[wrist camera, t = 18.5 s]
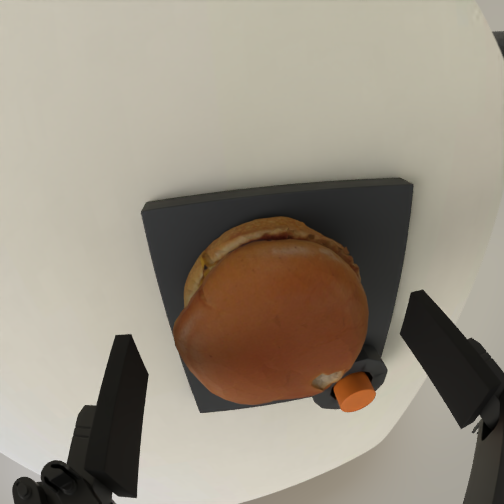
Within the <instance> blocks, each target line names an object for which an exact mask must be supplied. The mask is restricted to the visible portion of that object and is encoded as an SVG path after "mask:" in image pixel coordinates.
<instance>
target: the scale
mask: <svg viewBox="0 0 504 504" xmlns="http://www.w3.org/2000/svg"><path fill="white" fill-rule="evenodd" d="M412 196H413V184H411V183H410V182H408V181H406V180H404V179H402V178H383V179H362V180H344V181H329V182H315V183H302V184H291V185H280V186H269V187H259V188H250V189H241V190H232V191H224V192H216V193H208V194H200V195H193V196H186V197H179V198H172V199H165V200H158V201H152V202H147V203H146V204H145V206H144V207H143V209H142V211H141V215H142V219H143V224H144V228H145V233H146V237H147V242H148V246H149V250H150V254H151V258H152V262H153V266H154V270H155V274H156V278H157V282H158V285H159V289H160V293H161V296H162V300H163V303H164V307H165V310H166V314H167V317H168V320H169V324H170V327H171V330H172V334H173V327H174V322H175V321H176V319H177V318H178V316H179V315H180V313H181V312H182V310H183V309H184V287H185V283H186V280H187V277H188V275H189V272H190V271H191V269H192V267H193V266H194V264H195V262H196V260H197V259H198V257H199V256H200V255H201V253H202V252H203V251H204V250H205V249H206V248H207V247H208V246H209V245H210V244H211V243H212V242H213V241H214V240H216V239H217V238H219V237H220V236H221V235H222V234H223V233H224V232H226V231H228V230H230V229H232V228H234V227H236V226H239V225H241V224H244V223H246V222H250V221H253V220H255V219H263V218H271V217H279V216H282V217H289V218H292V219H295V220H298V221H300V222H303V223H304V224H305V225H306V226H307V227H309V228H311V229H313V230H315V231H317V232H319V233H321V234H322V235H323V236H325V237H328V238H330V239H333V240H334V241H336V242H338V243H340V244H341V245H342V246H343V247H344V248H345V247H346V248H347V250H348V252H350V253H349V255H350V256H352V257H353V261H354V264H357V266H358V267H359V273H360V277H361V284H362V286H363V289H364V291H365V294H366V297H367V303H368V310H369V316H368V329H367V335H366V339H365V341H364V344H363V347H362V349H361V352H360V353H359V355H358V357H357V359H356V360H355V362H354V364H353V365H352V367H351V369H350V370H348V371H347V372H346V373H345V374H344V375H343V377H342V378H344V377H346V376H347V375H349V374H353V373H356V372H360V371H361V372H364V373H366V374H367V376H368V378H369V380H370V382H371V384H372V386H373V388H374V390H375V391H376V390H377V389H378V388H379V387H380V386H381V385H382V384H383V382H384V380H385V377H386V374H387V368H386V366H385V364H384V362H383V361H382V359H381V356H382V352H383V349H384V345H385V342H386V338H387V334H388V330H389V326H390V322H391V318H392V314H393V310H394V306H395V301H396V297H397V292H398V287H399V282H400V277H401V272H402V267H403V261H404V255H405V249H406V243H407V236H408V229H409V222H410V214H411V205H412ZM173 337H174V335H173ZM179 355H180V354H179ZM180 358H181V356H180ZM181 361H182V364H183V367H184V370H185V373H186V376H187V379H188V382H189V384H190V387H191V390H192V393H193V395H194V398H195V401H196V404H197V406H198V409H199V411H200V413H207V412H217V411H227V410H235V409H243V408H250V407H257V406H264V405H270V404H276V403H282V402H287V401H293V400H298V399H303V398H308V397H303V398H295V399H286V400H276V401H275V400H273V401H272V402H268V403H263V404H257V405H247V404H238V403H235V402H231V401H228V400H225V399H223V398H221V397H219V396H217V395H215V394H213V393H211V392H210V391H209V390H208V389H207V388H206V387H205V386H204V385H203V384H202V383H201V382H200V381H199V380H198V379H197V378H196V377H195V375H194V374H193V373H192V372H191V371H190V370H189V368H188V367H187V366H186V364H185V363H184V361H183V360H182V358H181ZM342 378H341V379H342ZM341 379H340V380H341ZM337 382H338V381H337ZM337 382H335V383H333V384H332V385H331V386H330V387H329V388H327V389H326V390H324V392H322V393H319V394H316V395H314V396H309V397H313V400H314V402H315V403H317V404H318V405H319V406H320V407H321V408H326V409H341V408H340V406H339V403H338V401H337V398H336V396H335V393H334V391H333V387H334V385H335V384H336V383H337Z"/></svg>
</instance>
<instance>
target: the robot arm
mask: <svg viewBox="0 0 504 504" xmlns="http://www.w3.org/2000/svg"><path fill="white" fill-rule="evenodd" d="M400 335H401V336H402V338H403V339H404V341H405V342H406V344H407V345H408V347H409V348H410V349H411V351H412V352H413V354H414V355H415V357H416V358H417V360H418V361H419V363H420V364H421V366H422V367H423V369H424V370H425V372H426V373H427V375H428V376H429V378H430V379H431V381H432V383H433V384H434V386H435V387H436V389H437V390H438V392H439V394H440V395H441V397H442V398H443V400H444V402H445V403H446V405H447V406H448V408H449V409H450V411H451V413H452V415H453V416H454V418H455V420H456V421H457V423H458V425H459V426H460V428H461V429H462V428H464V427H466V426H467V425H469V424H471V423H473V422H474V421H475V419H476V418H477V417H478V416H479V414H480V416H481V418H482V419H481V420H480V421H479V423H478V424H477V425H476V426H475V427H474V429H473V431H472V433H474V432H475V431H476V430H477V429H478V428H479V430H478V432H477V434H478V437H477V443H476V449H475V454H474V460H473V465H472V469H471V474H470V478H469V483H468V486H467V490H466V494H465V498H464V501H463V504H504V373H503V371H502V370H501V369H500V367H499V366H498V365H497V364H496V362H495V361H494V360H493V359H491V356H490V355H489V354H488V353H486V350H485V349H484V348H483V346H482V345H481V344H480V343H479V342H477V341H476V340H474V339H472V338H469V339H466V337H465V336H464V335H463V334H462V333H461V332H460V331H459V329H458V328H457V327H456V326H455V325H454V323H453V322H452V321H451V320H450V319H449V318H448V317H447V315H446V314H445V313H444V312H443V311H442V310H441V309H440V308H439V307H438V305H437V304H436V303H435V302H434V301H433V300H432V299H431V298H430V297H429V296H428V295H427V294H426V292H425V291H424V290H419V291H415V292H411V294H410V299H409V303H408V307H407V310H406V314H405V318H404V322H403V325H402V329H401V332H400ZM148 376H149V374H148V372H147V370H146V368H145V366H144V363H143V361H142V359H141V357H140V354H139V352H138V350H137V347H136V345H135V343H134V340H133V338H132V335H131V334H127V335H116V336H115V339H114V342H113V346H112V349H111V352H110V356H109V359H108V363H107V367H106V370H105V374H104V378H103V381H102V385H101V389H100V393H99V397H98V401H97V406H93V405H85V406H84V407H83V409H82V410H81V412H80V413H79V414H78V417H77V421H76V425H75V426H76V428H75V429H74V433H73V435H74V436H73V438H72V442H71V446H70V451H69V456H68V460H67V464H66V463H64V462H62V461H57V460H54V461H51V462H49V463H47V464H46V465H45V466H44V468H43V470H42V471H41V480H42V482H35V481H34V480H32V479H30V478H28V477H21V478H19V479H17V480H16V481H15V483H14V485H13V489H12V492H13V498H14V503H15V504H116V503H115V502H114V501H113V500H112V492H113V493H115V494H116V495H117V496H120V497H131V498H137V483H138V468H139V455H140V443H141V433H142V423H143V414H144V406H145V398H146V390H147V383H148Z"/></svg>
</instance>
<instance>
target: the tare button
mask: <svg viewBox="0 0 504 504" xmlns="http://www.w3.org/2000/svg"><path fill="white" fill-rule="evenodd" d="M333 391H334V393H335V396H336V398H337V401H338V403H339V406H340V408H341V410H342V411H344V412H354V411H357V410H360V409H362V408H364V407H365V406H367V405H368V404H370V403H371V402H372V401H373V399H374V398H375V395H376V392H375V390H374V388H373V386H372V384H371V382H370V380H369V378H368V376H367V374H366V373H364V372H361V371H360V372H356V373H353V374H349V375H347V376H346V377H344V378H342V379H341V380H339V381H338V382H337V383H336V384H335V385H334V387H333Z"/></svg>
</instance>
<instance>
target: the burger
mask: <svg viewBox="0 0 504 504" xmlns="http://www.w3.org/2000/svg"><path fill="white" fill-rule="evenodd" d="M349 253H350V252H348V250H347V248H346V247H345V248H344V247H343V246H342V245H341V244H340V243H338V242H336V241H334V240H333V239H330V238H328V237H325V236H323V235H322V234H321V233H319V232H317V231H315V230H313V229H311V228H309V227H307V226H306V225H305V224H304V223H303V222H300V221H298V220H295V219H292V218H289V217H282V216H279V217H271V218H263V219H255V220H253V221H250V222H246V223H244V224H241V225H239V226H236V227H234V228H232V229H230V230H228V231H226V232H224V233H223V234H222V235H221V236H220V237H219V238H217V239H216V240H214V241H213V242H212V243H211V244H210V245H209V246H208V247H207V248H206V249H205V250H204V251H203V252H202V253H201V255H200V256H199V257H198V259H197V260H196V262H195V264H194V266H193V267H192V269H191V271H190V272H189V275H188V277H187V280H186V283H185V287H184V309H183V310H182V312H181V313H180V315H179V316H178V318H177V319H176V321H175V322H174V327H173V335H174V341H175V346H176V348H177V350H178V352H179V354H180V356H181V358H182V360H183V361H184V363H185V364H186V366H187V367H188V368H189V370H190V371H191V372H192V373H193V374H194V375H195V377H196V378H197V379H198V380H199V381H200V382H201V383H202V384H203V385H204V386H205V387H206V388H207V389H208V390H209V391H210V392H211V393H213V394H215V395H217V396H219V397H221V398H223V399H225V400H228V401H231V402H235V403H238V404H247V405H257V404H263V403H268V402H272V401H273V400H275V401H276V400H286V399H295V398H303V397H309V396H314V395H316V394H319V393H322V392H324V390H326V389H327V388H329V387H330V386H331V385H332V384H333V383H335V382H337V381H339V380H340V379H341V378H342V377H343V375H344V374H345V373H346V372H347V371H348V370H350V369H351V367H352V365H353V364H354V362H355V360H356V359H357V357H358V355H359V353H360V352H361V349H362V347H363V344H364V341H365V339H366V335H367V329H368V316H369V310H368V303H367V297H366V294H365V291H364V289H363V286H362V284H361V277H360V273H359V267H358V266H357V264H354V261H353V257H352V256H350V255H349Z"/></svg>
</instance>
